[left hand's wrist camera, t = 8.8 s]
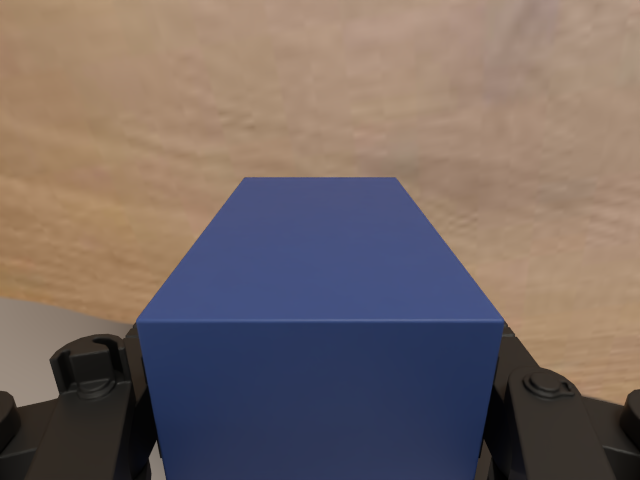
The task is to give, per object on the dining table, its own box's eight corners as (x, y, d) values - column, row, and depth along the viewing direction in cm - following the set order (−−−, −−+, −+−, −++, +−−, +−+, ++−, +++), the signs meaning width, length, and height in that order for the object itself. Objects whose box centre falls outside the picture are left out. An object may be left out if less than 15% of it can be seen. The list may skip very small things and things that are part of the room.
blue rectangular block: (254, 324, 17) (184, 582, 8) (244, 177, 15) (133, 320, 6) (386, 324, 17) (455, 582, 8) (396, 177, 15) (506, 320, 6)
